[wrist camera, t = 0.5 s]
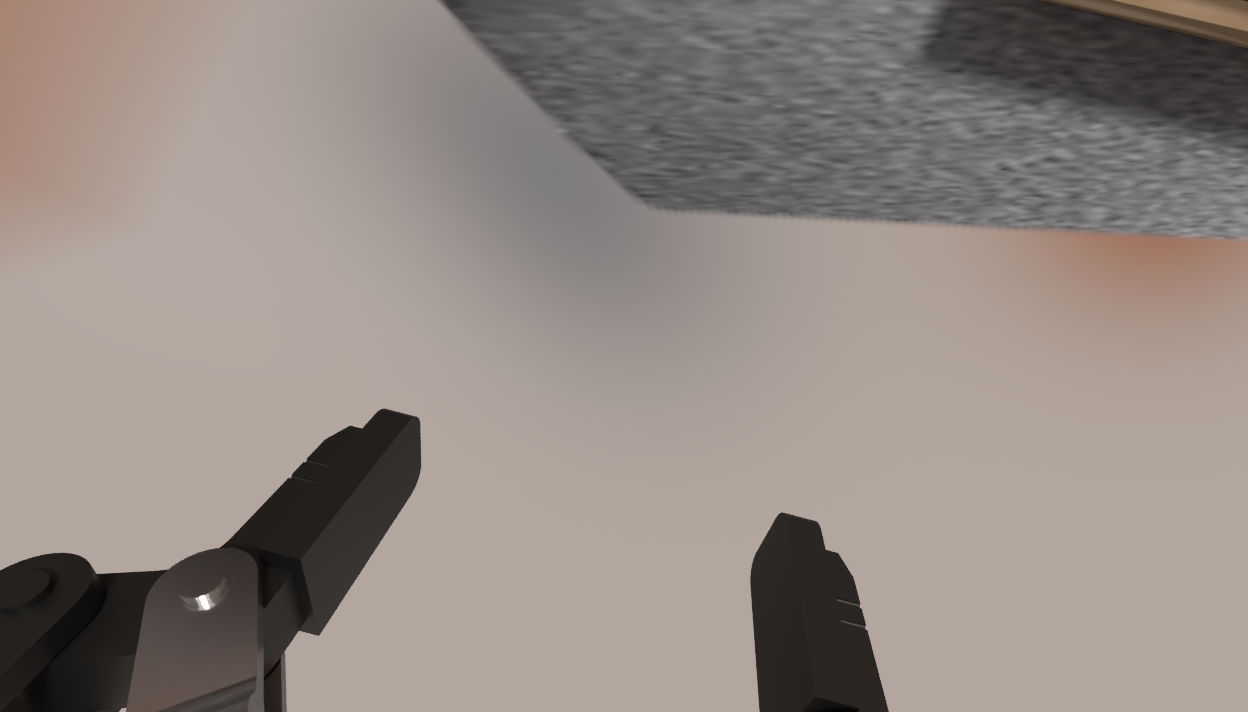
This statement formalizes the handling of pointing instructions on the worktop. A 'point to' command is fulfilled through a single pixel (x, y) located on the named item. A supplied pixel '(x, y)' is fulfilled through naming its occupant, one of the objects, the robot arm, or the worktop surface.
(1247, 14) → the bay
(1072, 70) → the worktop surface
